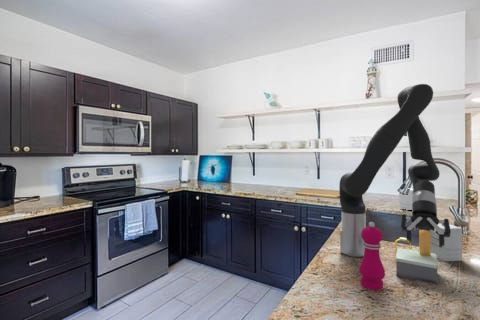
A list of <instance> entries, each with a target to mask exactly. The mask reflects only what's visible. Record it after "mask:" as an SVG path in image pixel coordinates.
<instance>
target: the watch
mask: <svg viewBox="0 0 480 320" xmlns="http://www.w3.org/2000/svg"><path fill="white" fill-rule="evenodd" d="M399 241H403V242H408V244H409V246H410V247H409V250H413V249H412V248H413V246H412V242H411V243H409V241H407V237H401V236H400V237H399V238H398V239H396V240H395V241H394V248H395V250H396V251H397V248H398V247H397V245H396V244H397V243H398V242H399Z"/></svg>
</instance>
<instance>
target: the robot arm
mask: <svg viewBox="0 0 480 320" xmlns="http://www.w3.org/2000/svg"><path fill="white" fill-rule="evenodd" d="M433 97H434V90H433V87H432V86H431V85H429V84H426V83H419V84H413V85H410V86H406V87H403V88H402V89H400V91H399V92H398V94H397V103H398V108H399V110H398V111H397V113H395V114H394V115H393V116H392V117H391V118H389V119H388V120H387V121H386V122H385V123H383V124H382V125H381V126H380V127H379V128H378V129H377V130H376V132H374V135H373V136H372V137H371V138H370V141H369V142H368V145H367V147H366V150H365V152H364V155H363V158H362V160H361V162H360V163H359V164H358V166H356V168H355V169H354V170H353V171H352V172H347V173H345V174H343V175H342V176H341V177H340V180H339V189H338V190H339V204H340V207H341V211H340V212H341V217H340V219H341V228H340V229H339V239H340V240H339V241H340V242H339V243H340V244H339V245H340V246H339V247H340V248H339V249H340V250H339V252H340V254H343V255H345V256H349V257H353V258H357V257H358V258H363V257H364V251H365V249H364V246H363V241H364V240H363V239H362V237H361V232H362V230H363V228H365V227H367V225H366V224H367V219H366V218H367V216H366V213H367V212H366V211H367V210H366V209H367V208H366V207H367V206H366V205H365V203H364V200H363V195H364V194H366V193H367V191H368V190H369V188H370V186H371V184H372V183H373V181H374V179H375V177H376V175H377V174H378V172H379V171H380V169H381V168H382V166H383V165H384V164H385V162H387V160H388V158H389V157H390V155H392V153H393V152H394V150H395V149H396V148H397V147H398V145H399V143H400V142H401V140H402V139H403V137H404V136H405V135H406V134H407V137H408V145H409V152H410V157H411V158H412V159H413V160H418V161H422V162H425V163H421V164H412V165H410V166H409V167H408V170H407V174H408V177H409V180H410V181H411V184H412V189H413V198H412V211H411V214H412V215H410V216H409V215H406V214H402V216H401V223H400V229H401V232H404V233H406V238H407V241H409V242H408V244H409V243H411V244H412V233H413V232H414V231H416V230H417V229H419V230H428V231H430V230H432V231H433V232H434V233H436V234H437V235H438V236H439V247H442V246H444V237H450V234H451V231H450V225H451V224H450V221H449V219H448V218H444V219H439V218H438V211H437V210H438V208H437V199H436V192H435V191H436V188H435V184H434V183H433V182H435V181H437V180H439V178H440V170H439V167H438V166H437V164H436V162H435V159H434V156H433V155H432V147H431V140H430V135H429V134H428V131H427V130H426V129H425V127H424V125H423V123H422V122H421V119H420V117H419V116H420V115H421V114H422V113H423V112H424V111H425V110H426V108H427V107H428V106H429V105H430V103H431V102H432V100H433ZM409 221H411V222H412V223H410V225H409V226H408V227H407V226H406V225H407V223H409ZM438 224H441V225H442V226H444V228H445V232H443V231H442V230H441V229H440V228H439V226H438ZM449 224H450V225H449ZM407 241H406V242H407Z"/></svg>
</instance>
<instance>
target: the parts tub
mask: <svg viewBox="0 0 480 320" xmlns="http://www.w3.org/2000/svg"><path fill="white" fill-rule="evenodd" d="M395 262H396V264H395V265H396V268H395V269H396V271H395V273H396V276H397V277H400V278H401V277H402V278H405V279H409V280H410V279H411V280H415V281H419V282H425V283H428V284H429V283H430V284H434V285H438V269H436V268H430V267H425V266H420V265H414V264H409V263H404V262H399V261H396V260H395Z"/></svg>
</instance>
